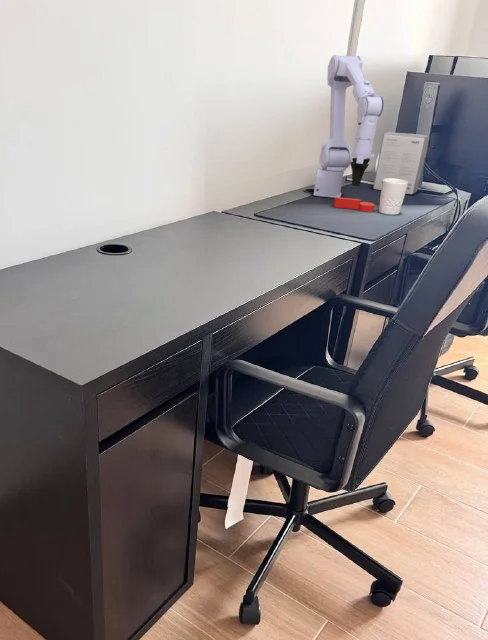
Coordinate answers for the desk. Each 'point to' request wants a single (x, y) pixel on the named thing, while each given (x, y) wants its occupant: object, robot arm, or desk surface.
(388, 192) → the white cup
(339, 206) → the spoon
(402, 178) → the hard drive box
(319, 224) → the desk surface
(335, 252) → the desk surface
